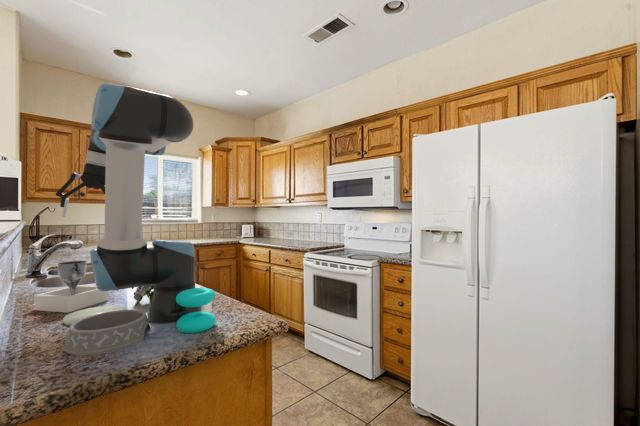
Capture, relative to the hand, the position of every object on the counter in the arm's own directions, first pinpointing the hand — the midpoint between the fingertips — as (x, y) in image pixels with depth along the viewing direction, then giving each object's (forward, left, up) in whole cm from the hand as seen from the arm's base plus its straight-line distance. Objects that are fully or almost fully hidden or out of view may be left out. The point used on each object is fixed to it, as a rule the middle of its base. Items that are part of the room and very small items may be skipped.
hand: (86, 219), depth 118 cm
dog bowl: (-43, +30, -31) cm, 60 cm away
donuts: (-60, +19, -30) cm, 70 cm away
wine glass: (-3, +8, -30) cm, 31 cm away
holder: (-3, +8, -30) cm, 31 cm away
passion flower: (-29, +1, -30) cm, 42 cm away
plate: (-23, +17, -30) cm, 41 cm away
